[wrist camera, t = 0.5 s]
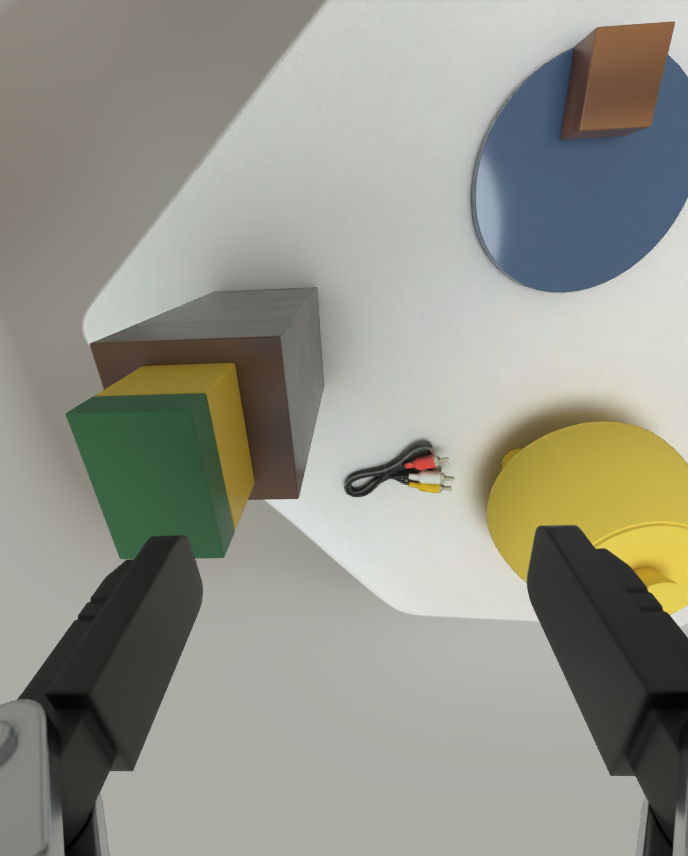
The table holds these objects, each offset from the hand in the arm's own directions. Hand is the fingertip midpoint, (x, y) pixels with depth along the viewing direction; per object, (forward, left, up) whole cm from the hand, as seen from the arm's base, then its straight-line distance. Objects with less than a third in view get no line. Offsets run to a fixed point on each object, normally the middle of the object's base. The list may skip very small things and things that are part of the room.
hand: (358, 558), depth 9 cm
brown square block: (-14, +15, -24) cm, 31 cm away
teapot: (+17, +19, -25) cm, 36 cm away
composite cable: (+13, +3, -25) cm, 28 cm away
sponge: (+1, -7, -9) cm, 11 cm away
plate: (-9, +15, -25) cm, 31 cm away
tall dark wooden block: (+1, -7, -25) cm, 26 cm away
